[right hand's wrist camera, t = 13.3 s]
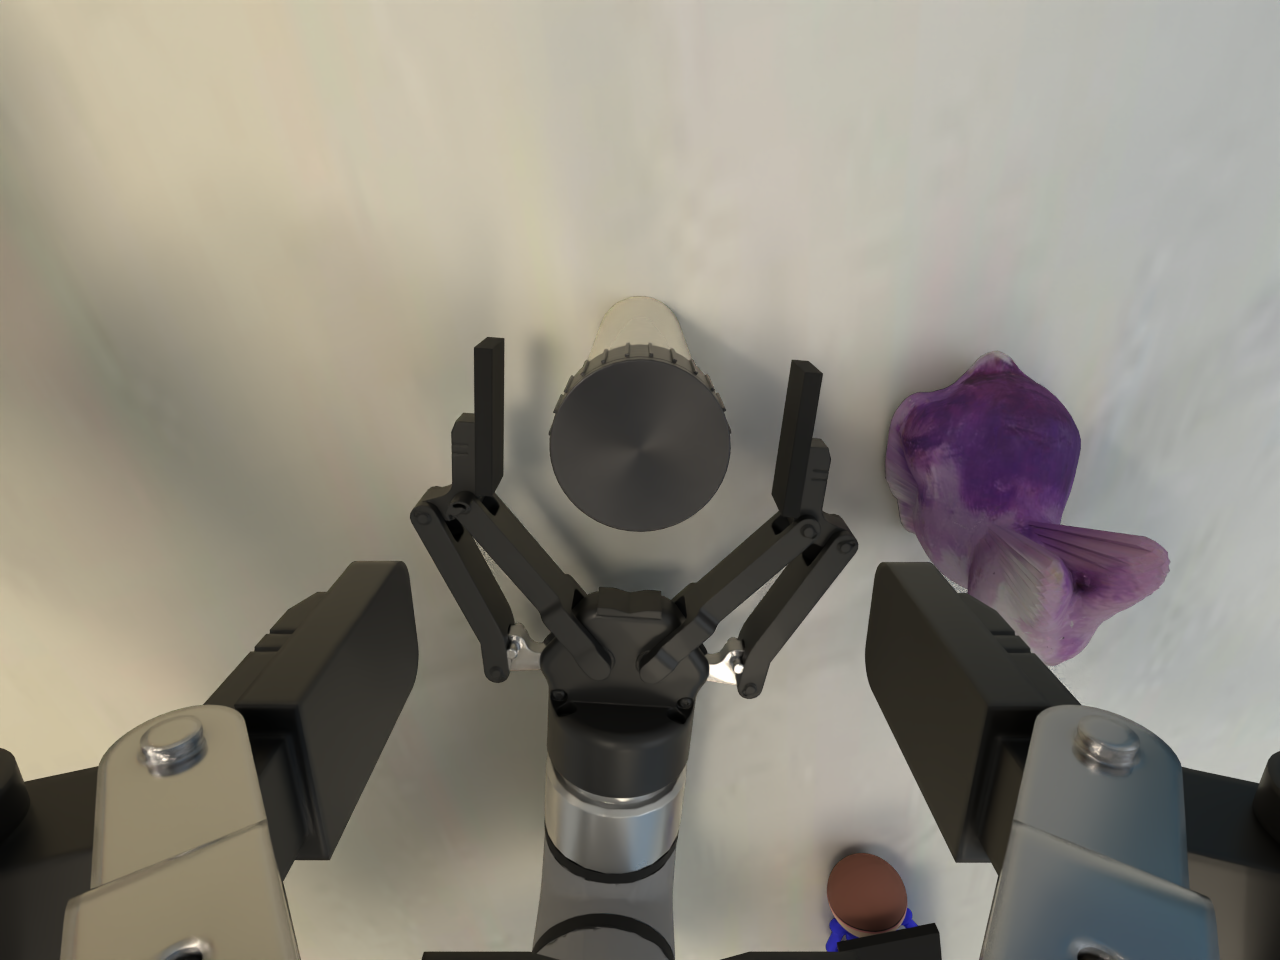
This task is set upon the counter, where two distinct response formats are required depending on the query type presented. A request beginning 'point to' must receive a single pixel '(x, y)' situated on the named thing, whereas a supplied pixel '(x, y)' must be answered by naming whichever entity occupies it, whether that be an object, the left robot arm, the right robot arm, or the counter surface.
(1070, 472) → the figurine
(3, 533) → the counter surface
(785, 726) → the counter surface
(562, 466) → the lid
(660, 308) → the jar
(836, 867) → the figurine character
